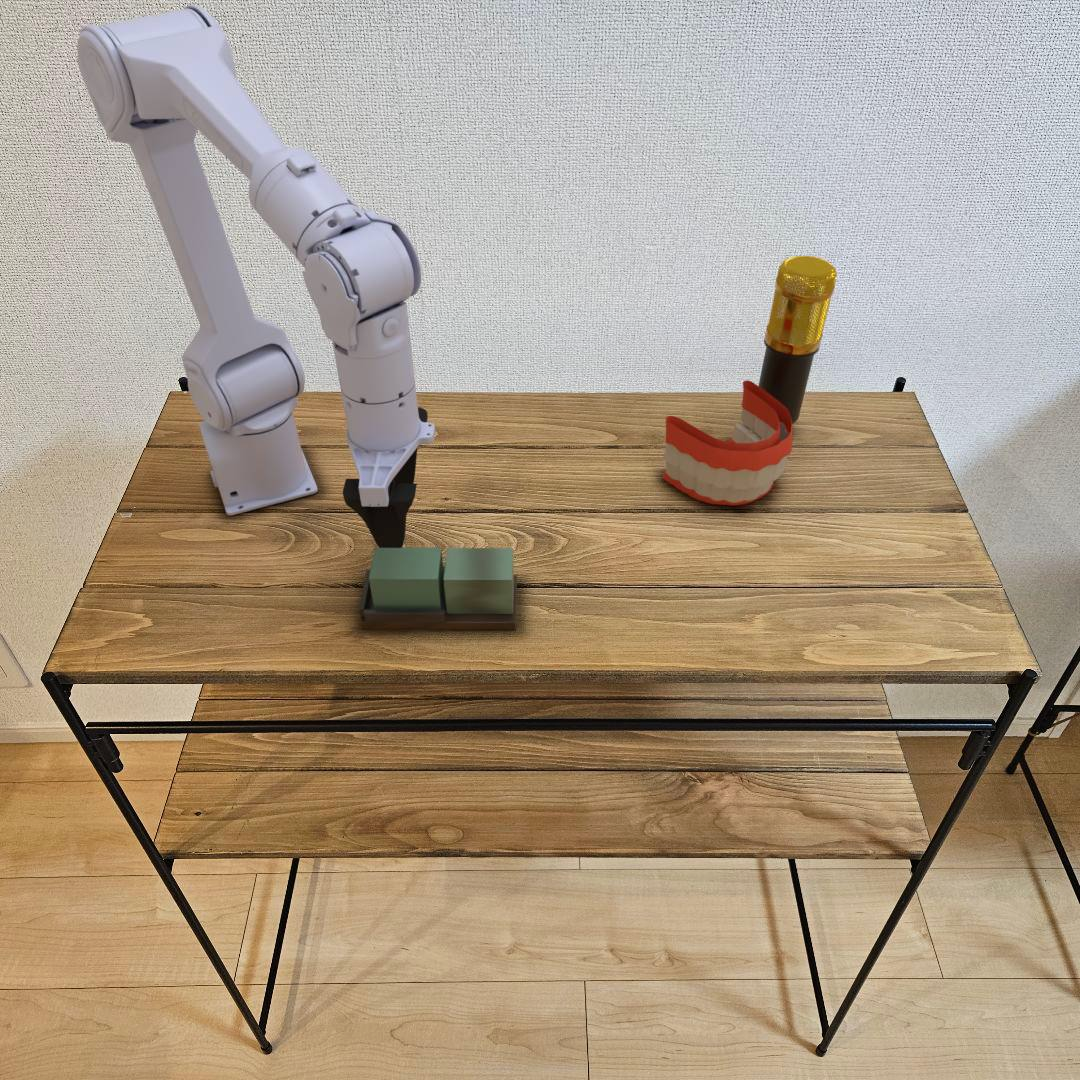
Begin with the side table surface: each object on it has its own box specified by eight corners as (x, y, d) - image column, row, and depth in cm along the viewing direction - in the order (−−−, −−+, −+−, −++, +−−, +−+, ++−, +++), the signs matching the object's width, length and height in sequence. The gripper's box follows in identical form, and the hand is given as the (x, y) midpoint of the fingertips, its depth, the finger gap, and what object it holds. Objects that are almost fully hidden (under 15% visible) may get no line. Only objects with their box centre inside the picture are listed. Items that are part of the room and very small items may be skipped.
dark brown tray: (361, 629, 80) (352, 587, 76) (370, 581, 85) (362, 540, 81) (515, 629, 80) (514, 587, 76) (517, 582, 85) (516, 540, 81)
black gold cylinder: (867, 438, 101) (919, 275, 88) (754, 443, 101) (788, 280, 87) (850, 409, 106) (897, 249, 92) (742, 414, 105) (772, 253, 91)
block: (375, 613, 80) (368, 578, 77) (380, 581, 83) (374, 547, 80) (441, 613, 80) (437, 579, 77) (444, 581, 83) (441, 547, 80)
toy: (723, 532, 90) (735, 470, 84) (655, 479, 96) (662, 418, 90) (807, 485, 95) (823, 424, 90) (737, 438, 101) (749, 378, 96)
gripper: (420, 440, 63) (434, 574, 72) (437, 334, 74) (448, 463, 83) (320, 439, 63) (348, 573, 72) (352, 333, 74) (373, 462, 83)
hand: (396, 514), depth 78 cm, fingers open, 7 cm apart
